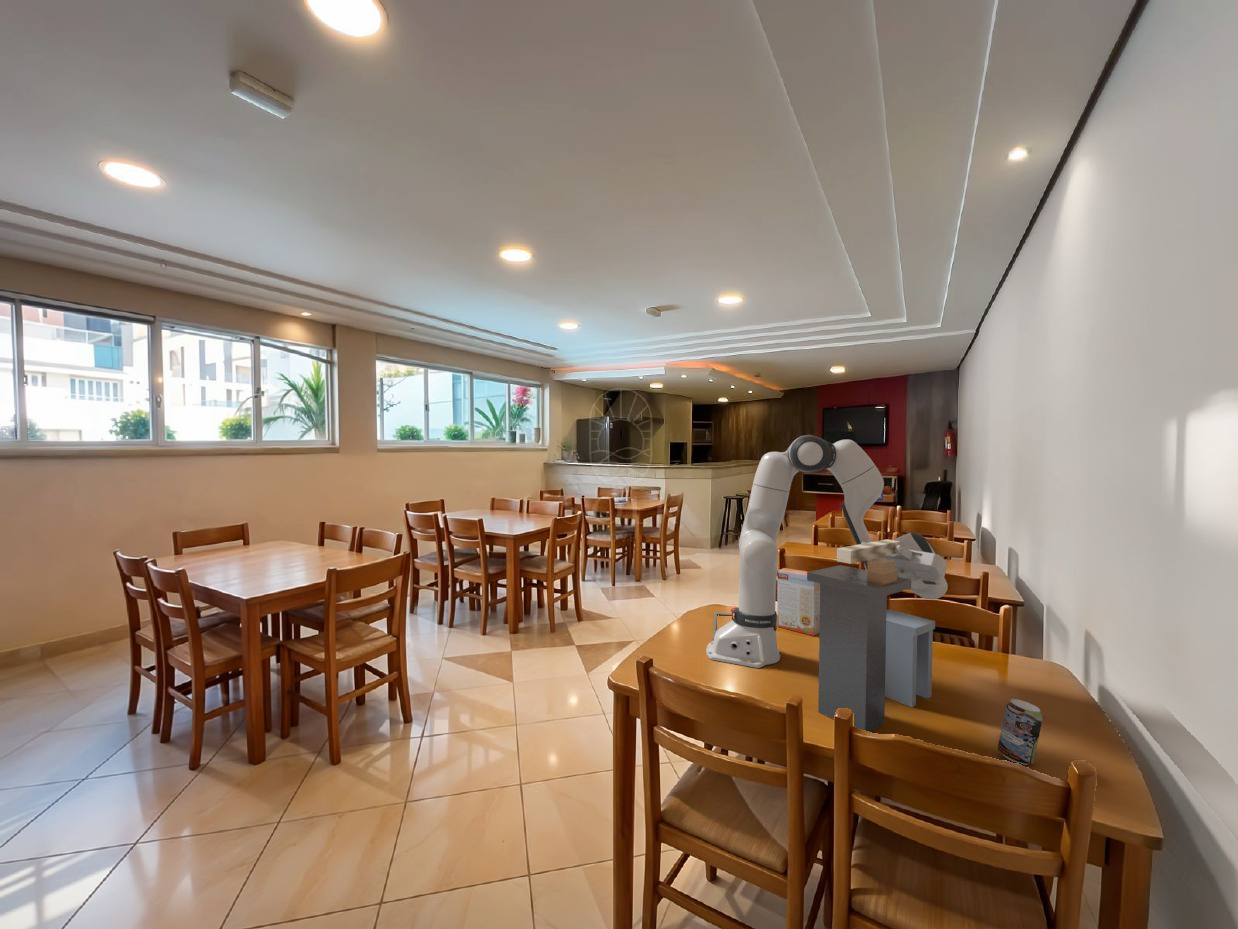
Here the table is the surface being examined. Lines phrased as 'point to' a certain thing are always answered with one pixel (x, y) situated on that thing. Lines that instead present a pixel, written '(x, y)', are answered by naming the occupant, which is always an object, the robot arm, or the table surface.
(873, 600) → the steel pedestal
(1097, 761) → the table surface
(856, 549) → the birch slat
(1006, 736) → the beverage can
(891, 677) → the slate trestle
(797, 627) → the cracker box
